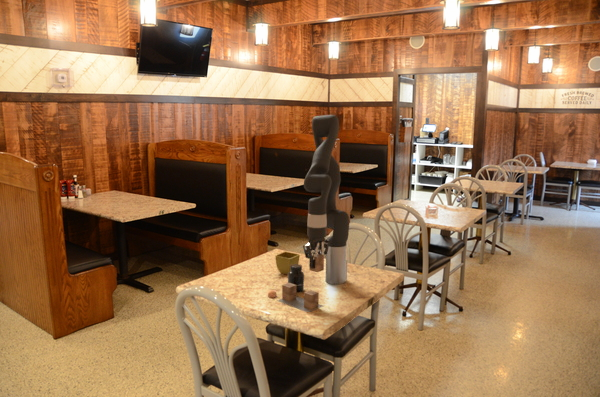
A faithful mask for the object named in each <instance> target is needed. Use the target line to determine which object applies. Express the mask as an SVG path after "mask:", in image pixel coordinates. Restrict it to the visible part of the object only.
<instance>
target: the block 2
mask: <svg viewBox="0 0 600 397" xmlns="http://www.w3.org/2000/svg"><path fill="white" fill-rule="evenodd" d="M319 294H320V292H318V291H315V290H312V289H310V290H307V291H304V292H303V299H304V308H307V309H310V310H313V309H315V310H317V309H316V308H318V306H319V304H320V303H319V298H320V297H319V296H320V295H319ZM318 309H319V308H318ZM313 311H314V310H313Z"/></svg>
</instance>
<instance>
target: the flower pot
mask: <svg viewBox="0 0 600 397" xmlns="http://www.w3.org/2000/svg"><path fill="white" fill-rule="evenodd" d="M300 256H301V255H300V253H295V252H290V251H283V252H281V253H279V254H278V253H277V254H276V255H275V257H274V258H275V265H276V268H277V270H278V271H279V273H280V274H284V275H287V276H288V273H289V272H290V271H291V270H290V268H291V265H293V264H299V263H300Z"/></svg>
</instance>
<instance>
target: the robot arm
mask: <svg viewBox="0 0 600 397" xmlns="http://www.w3.org/2000/svg"><path fill="white" fill-rule="evenodd" d="M311 128H312V134H313V135H312V136H313V139H314V140H313V141H314V145H315V151H314V153H313V156H312V160H311V161H312V162H311V166H310V168H309V170H308V172H307V173H306V175H305V178H304V179H303V188H304V189H305V191H306V192H309V193H320V194H321V195H320V196H318V197H312V198H310V199H309V200H308V206H307V208H308V210H307V212H308V213H307V225H306V227H307V228H306V230H307V234H306V236H307V238H308V241H307V244H303V245H302V248H303V252H304V256H305V258H306V259H309V265H308V267H309V269H310V268H312V269H314V268H315V257H316V254H320V255H324V256H325V281H324V282H326V283H328V284H329V285H342V284H345V283H346V281H348V260H347V242H348V239H349V236H350V235H349V232H350V231H349V230H350V217H349V216H350V215H349V214H348V212H346V211H345V210H343V209H342V210H341V209H337V205H336V195H337V193H338V190H339V188H340V185H341V181H342V180H341V171H340V170H341V168H340V164H339V163H338V162H337V159H336V158H334V156H333V155H332V154H333V150H334V148H335V144H336V141H337V139H338V135H339V132H340V120H339V118H338V116H337V115H335V114H323V115H316V116H313V118H312V119H311ZM323 138H325V139H323ZM327 229H330V230H332V236H328V237H327ZM312 255H313V256H312Z"/></svg>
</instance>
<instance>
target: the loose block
mask: <svg viewBox="0 0 600 397" xmlns="http://www.w3.org/2000/svg"><path fill="white" fill-rule="evenodd" d="M312 256H313V254H312ZM324 270H325V255H320V254H318V253H317V254H316V257H315V268H314V269H312V268H310V267H309V271H311V272H314V273H319V272H322V271H324Z"/></svg>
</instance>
